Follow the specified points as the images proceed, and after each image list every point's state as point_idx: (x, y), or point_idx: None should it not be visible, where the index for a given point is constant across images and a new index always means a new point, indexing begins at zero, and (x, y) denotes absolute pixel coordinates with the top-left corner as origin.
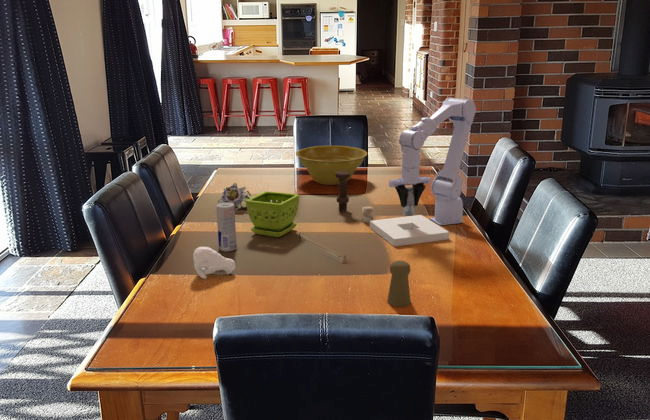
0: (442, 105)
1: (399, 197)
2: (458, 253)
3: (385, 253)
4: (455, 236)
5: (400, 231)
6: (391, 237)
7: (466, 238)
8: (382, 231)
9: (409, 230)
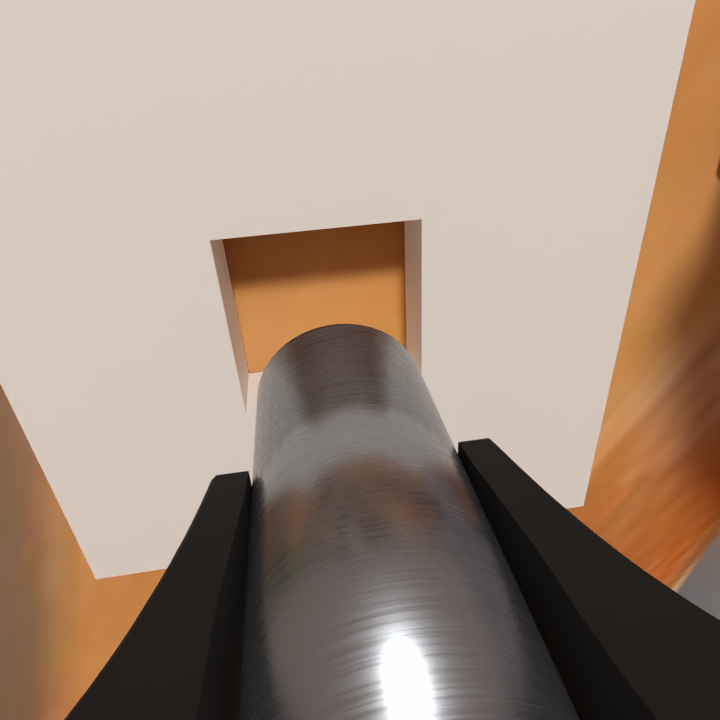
0: None
1: (150, 616)
2: None
3: (28, 611)
4: (635, 426)
5: (194, 440)
6: (78, 538)
7: (669, 468)
8: (5, 375)
9: None
